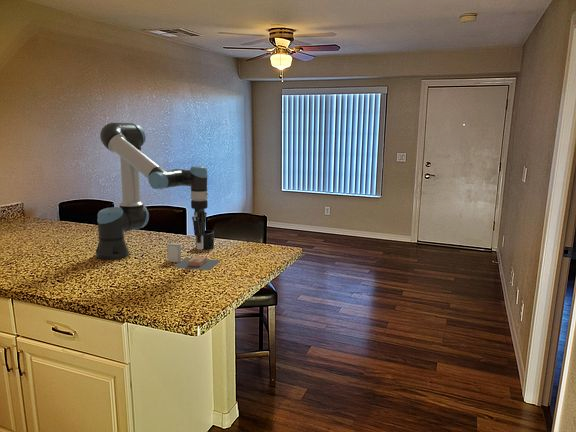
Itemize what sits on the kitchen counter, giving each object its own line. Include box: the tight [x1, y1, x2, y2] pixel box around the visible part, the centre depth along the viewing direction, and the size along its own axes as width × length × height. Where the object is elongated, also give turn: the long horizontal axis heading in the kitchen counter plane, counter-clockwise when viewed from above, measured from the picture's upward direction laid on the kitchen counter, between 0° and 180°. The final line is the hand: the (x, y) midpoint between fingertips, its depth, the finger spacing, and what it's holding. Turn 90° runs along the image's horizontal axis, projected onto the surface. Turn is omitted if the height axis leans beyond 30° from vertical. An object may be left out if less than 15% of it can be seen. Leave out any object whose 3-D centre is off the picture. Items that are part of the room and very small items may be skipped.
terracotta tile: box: [188, 255, 208, 266], centre depth 211 cm, size 6×2×9 cm
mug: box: [195, 229, 215, 251], centre depth 238 cm, size 9×12×9 cm
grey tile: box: [166, 243, 182, 263], centre depth 213 cm, size 6×2×9 cm, turn 80°
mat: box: [172, 257, 222, 271], centre depth 211 cm, size 18×16×1 cm
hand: (200, 248), depth 213 cm, fingers closed
